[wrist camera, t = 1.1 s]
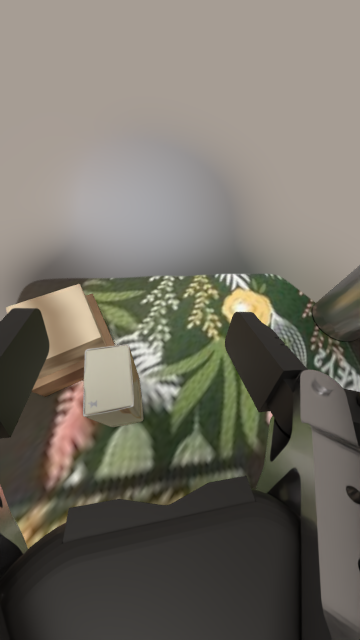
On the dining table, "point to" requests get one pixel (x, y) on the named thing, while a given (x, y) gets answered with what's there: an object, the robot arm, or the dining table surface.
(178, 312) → the dining table surface
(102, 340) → the stepped wooden pedestal
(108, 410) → the skincare box
